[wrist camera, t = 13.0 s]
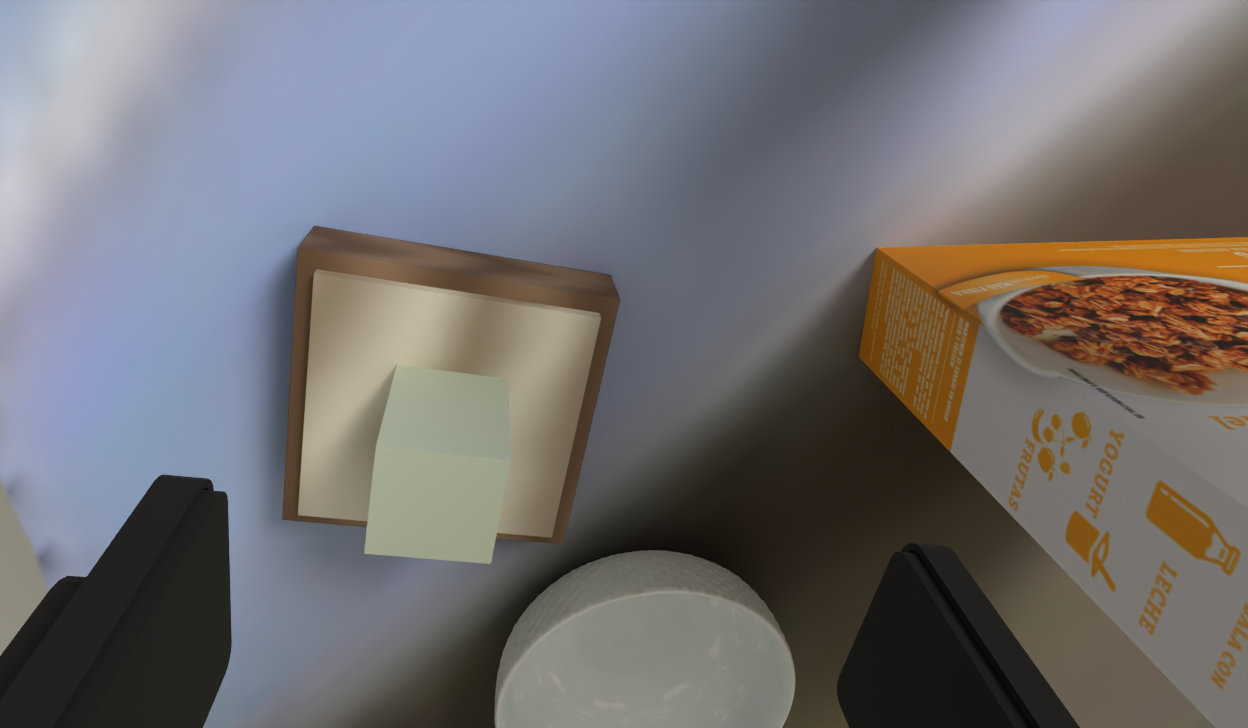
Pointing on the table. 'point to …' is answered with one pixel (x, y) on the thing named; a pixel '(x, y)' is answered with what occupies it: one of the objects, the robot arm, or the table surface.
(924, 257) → the cereal box
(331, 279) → the base
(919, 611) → the robot arm
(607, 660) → the cereal bowl
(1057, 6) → the table surface
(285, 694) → the table surface
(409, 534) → the block
